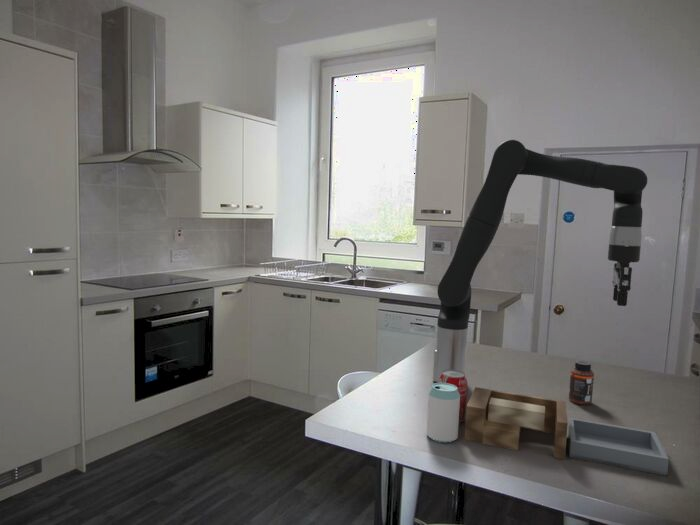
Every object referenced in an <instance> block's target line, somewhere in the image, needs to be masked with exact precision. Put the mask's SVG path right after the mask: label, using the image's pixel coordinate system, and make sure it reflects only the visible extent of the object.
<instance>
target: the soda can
mask: <svg viewBox="0 0 700 525" xmlns="http://www.w3.org/2000/svg"><path fill="white" fill-rule="evenodd" d="M439 383H449V384H452V385H455V386H456V387H457V388H458V389H457V391H458V392H459V394H460V406H459V423H458V424H460V423H461V422H463V421H465V420H466V408H467V398H468V380H467V378H466V372H465V373H463V372H461V371H458V370H444V371H442V375H441V376H440V378H439Z"/></svg>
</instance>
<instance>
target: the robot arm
mask: <svg viewBox="0 0 700 525" xmlns="http://www.w3.org/2000/svg"><path fill="white" fill-rule="evenodd" d="M518 175H521V176H522V175H523V176H535V177H542V178H548V179H552V180H556V181H561V182H564V183H568V184H573V185H575V186H576V185H578V186H581V187H586V188H592V189H604V190H608V191H609V190H610V191H612V192H613V211H612V216H611V217H612V220H611V226H610V233H609V240H608V249H607V250H608V251H607V260H608V261H612V262H616V263H614V264H613V269H612V271H613V272H612V273H613V274H612V286H613V296H612V300H613V301H614V302H616V305H617V306H618V307H619V306H620V307H626V306H627V303H628V295H629V292H630V291H631V289H632V287H631V282H632V274H633V272H632V271H633V269H632V267H630V264H631V263H638V262H640V258H641V248H642V239H643V238H642V236H643V235H642V226H643V225H642V224H643V208H642V198H643V197H642V196H643V191H644V189H646V186H647V185H648V175H647V173H645V171H643V169H640V168H639V167H634V166H628V165H620V164H619V165H618V164H608V163H604V162H600V161H595V160H592V159H591V160H590V159H584V158H578V157H571V156H570V157H568V156H566V157H565V156H558V155H550V154H544V153H540V152H536V151H533V150H531V149H528V148H526V146H525V145H524V143H522V142H521V141H519V140H517V139H508V140H505V141H502V142H501V143H500V144H499V145H498V146H496V148H495V150H494V152H493V155H492V159H491V161H490V166H489V169H488V172H487V175H486V178H485V181H484V183H483V186H482V187H481V189H480V191H479V193H478V196H477V197H476V199H475V201H474V203H473V205H472V207H471V210H470V212H469V214H468V216H467V219H466V220H465V223H464V226H463V228H462V231H461V234H460V237H459V240H458V242H457V245H456V248H455V252H454V254H453V257H452V260H450V264H449V266H448V267H447V269H446V271H445V272H444V274H443V276H442V278H441V280H440V281H439V283H438V286H437V297H438V298H439V301H440V306H439V307H440V308H439V314H438V317H437V327H436V328H437V329H436V346H435V347H436V349H435V350H434V354H433V369H432V370H433V373H432V374H433V376H432V382H436V383H439V378H440V376H441V375H442V371H444V370H458V371H461V372H463V373H465V374H466V366H467V365H466V364H467V362H466V361H467V348H468V333H469V332H468V331H469V330H468V329H469V321H470V316H471V314H470V313H471V302H472V285H471V281H472V279H473V276H474V274H475V271H476V269H477V267H478V265H479V263H480V262H481V260H482V259H483V257H484V256H485V254H486V253H487V251H488V249H489V248H490V246H491V244H492V242H493V240H494V238H495V236H496V233H497V232H498V229H499V227H500V224H501V221H502V218H503V216H504V211H505V208H506V204H507V199H508V195H509V192H510V191H511V188H512V187H513V185H514V183H515V181H516V178H517V176H518Z"/></svg>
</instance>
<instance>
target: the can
mask: <svg viewBox="0 0 700 525" xmlns="http://www.w3.org/2000/svg"><path fill="white" fill-rule="evenodd" d="M457 389H458V388H457V387H456V386H455V385H452V384H449V383H438V382H436V383H432V384H431V388H430V390H429V391H428V400H427V419H426V435H427V437H429V438H430V439H431V438H432V439H434V440H436V441H435V442H437V441H440V442H439V443H441V442H449V443H451V442H450V441H452V442H454V441H455V440H457V439H458V437H459V424H460V423H459V406H460V394H459V392H458V391H457ZM432 439H431V440H432ZM434 440H433V441H434Z"/></svg>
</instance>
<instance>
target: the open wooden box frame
mask: <svg viewBox="0 0 700 525" xmlns="http://www.w3.org/2000/svg"><path fill="white" fill-rule="evenodd" d="M491 398H498V399H504V400H510V401H516V402H522V403H528V404H534V405H540V406H545V419H544V431H543V430H537V429H532V428H526V427H521V426H515V425H510V424H504V423H499V422H493V421H488V412H489V402H490V399H491ZM521 429H524V430H525V429H526V430H530V431H531V430H532V431H536V432H543V433H547V434H553V436H554V438H553V441H554V442H553V444H554V450H553V451H554V459H559V460H566V448H567V439H568V432H567V431H568V411H567V402H566V401H565V400H559V399H552V398H548V397H547V398H546V397H539V396H533V395H528V394H519V393H517V392H516V393H515V392H508V391H502V390H497V389H496V390H495V389H489V388H483V387H477V386H476V387H474V389H473V391H472V393H471V395H470V398H469V400H468V402H467V403H466V414H465V428H464V441H468V442H473V443H479V444H483V445H489V446H494V447H499V448H504V449H508V450H514V451H518V450H519V443H520V436H521Z"/></svg>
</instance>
